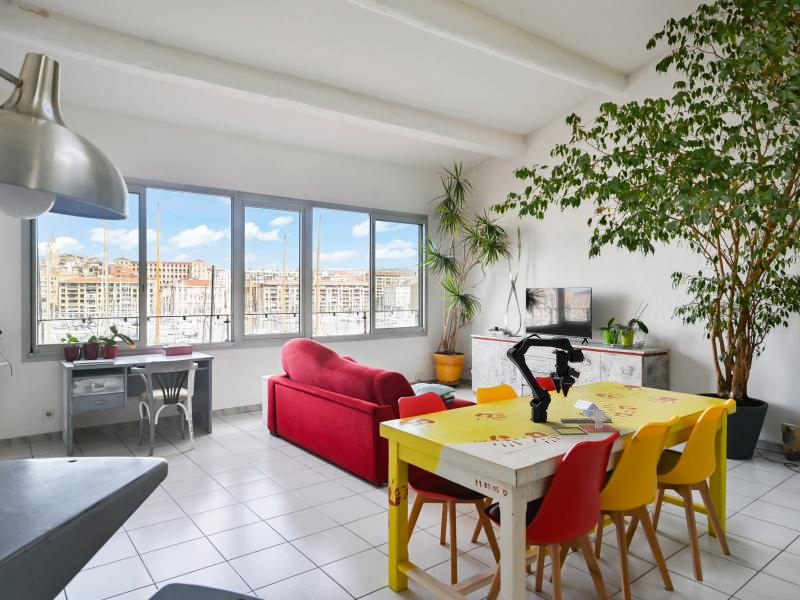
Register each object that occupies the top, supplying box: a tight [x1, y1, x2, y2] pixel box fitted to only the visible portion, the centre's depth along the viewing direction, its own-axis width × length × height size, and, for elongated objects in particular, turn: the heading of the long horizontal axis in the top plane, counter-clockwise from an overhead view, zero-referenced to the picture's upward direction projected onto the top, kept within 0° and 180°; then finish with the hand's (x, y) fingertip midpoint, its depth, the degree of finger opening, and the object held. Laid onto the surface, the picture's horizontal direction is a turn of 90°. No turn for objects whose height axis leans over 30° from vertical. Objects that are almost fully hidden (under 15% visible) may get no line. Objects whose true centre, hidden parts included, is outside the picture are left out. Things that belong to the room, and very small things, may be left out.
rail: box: [560, 417, 612, 424], centre depth 251 cm, size 24×2×2 cm, turn 93°
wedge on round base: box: [573, 398, 603, 418], centre depth 266 cm, size 9×7×13 cm
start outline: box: [551, 426, 589, 436], centre depth 234 cm, size 12×11×1 cm
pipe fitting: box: [589, 408, 608, 429], centre depth 239 cm, size 6×7×8 cm
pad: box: [578, 423, 621, 433], centre depth 239 cm, size 14×12×1 cm
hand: (561, 395), depth 255 cm, fingers open, 9 cm apart
